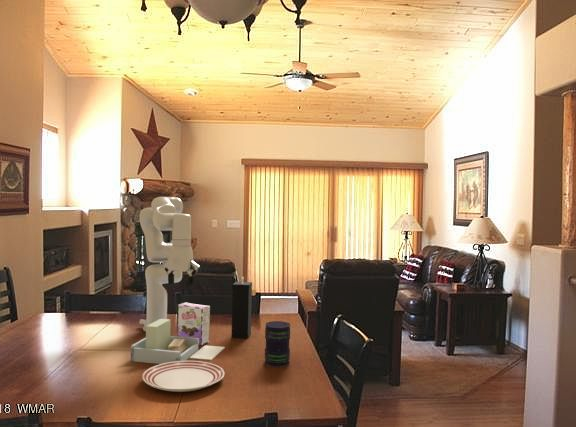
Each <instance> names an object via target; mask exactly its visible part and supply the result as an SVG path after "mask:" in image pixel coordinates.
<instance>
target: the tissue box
mask: <svg viewBox="0 0 576 427" xmlns="http://www.w3.org/2000/svg"><path fill="white" fill-rule="evenodd" d="M244 278H245V277H244V276H241V281H235V282H233V283H232V285H231V286H232V287H231V288H232V291H231V292H232V296H231V297H232V298H231V299H232V300H231V301H232V302H231V338H234V339H235V338H236V339H249V337H250V335H251V334H252V298H253V295H252V294H253V293H252V291H253V289H252V288H253V282H252V281H245V280H244Z"/></svg>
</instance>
